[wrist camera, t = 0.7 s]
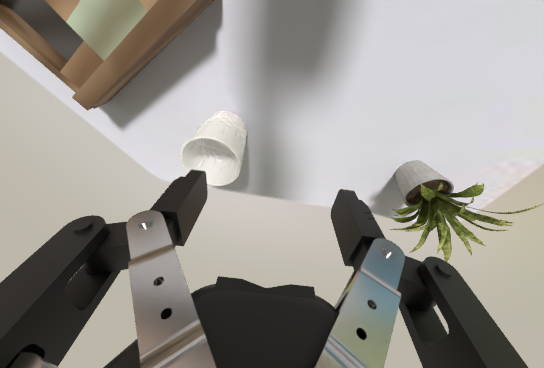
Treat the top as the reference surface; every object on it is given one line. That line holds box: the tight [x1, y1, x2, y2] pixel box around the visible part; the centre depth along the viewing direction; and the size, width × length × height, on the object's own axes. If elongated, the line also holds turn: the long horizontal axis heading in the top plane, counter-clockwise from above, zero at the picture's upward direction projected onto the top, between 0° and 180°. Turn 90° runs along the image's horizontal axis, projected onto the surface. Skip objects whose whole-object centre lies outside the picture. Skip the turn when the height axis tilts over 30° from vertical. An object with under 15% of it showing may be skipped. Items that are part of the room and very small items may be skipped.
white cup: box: [180, 111, 247, 186], centre depth 30 cm, size 8×8×10 cm
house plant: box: [392, 161, 542, 262], centre depth 30 cm, size 14×14×16 cm
